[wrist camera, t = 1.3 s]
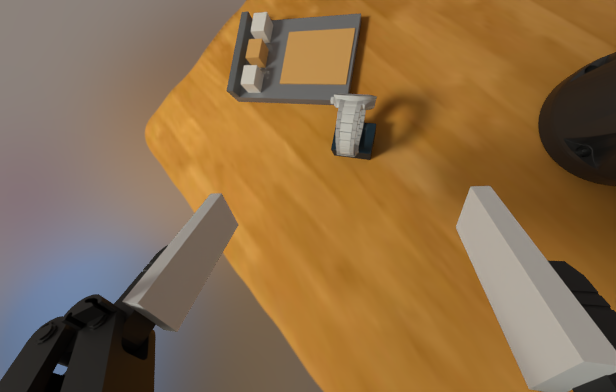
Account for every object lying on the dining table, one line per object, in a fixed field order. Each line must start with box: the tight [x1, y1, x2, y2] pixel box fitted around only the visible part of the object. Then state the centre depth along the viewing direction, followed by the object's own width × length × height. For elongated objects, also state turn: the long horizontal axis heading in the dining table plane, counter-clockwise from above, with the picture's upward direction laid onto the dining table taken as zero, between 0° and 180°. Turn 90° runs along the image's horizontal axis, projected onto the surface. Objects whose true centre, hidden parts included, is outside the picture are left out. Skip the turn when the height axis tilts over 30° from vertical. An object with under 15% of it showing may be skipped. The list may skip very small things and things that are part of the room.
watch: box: [330, 94, 377, 160], centre depth 28 cm, size 6×8×11 cm
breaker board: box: [227, 12, 361, 105], centre depth 35 cm, size 20×14×4 cm
